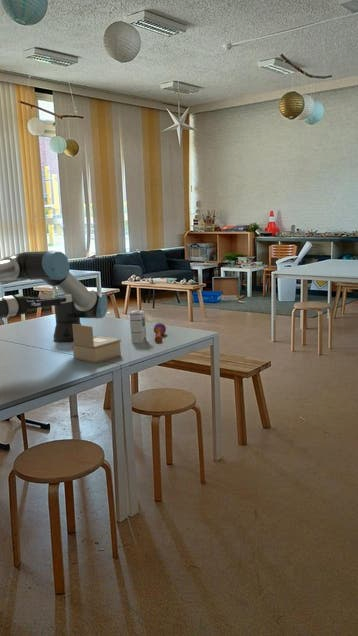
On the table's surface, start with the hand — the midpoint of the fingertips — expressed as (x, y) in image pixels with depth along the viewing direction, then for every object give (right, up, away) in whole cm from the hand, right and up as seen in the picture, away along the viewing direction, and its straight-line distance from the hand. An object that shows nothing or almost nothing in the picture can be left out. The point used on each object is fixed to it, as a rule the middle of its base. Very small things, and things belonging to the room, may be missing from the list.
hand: (61, 297), depth 225 cm
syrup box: (+27, -20, +42) cm, 54 cm away
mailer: (+12, -25, +17) cm, 32 cm away
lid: (+11, -19, +16) cm, 27 cm away
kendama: (+37, -18, +48) cm, 64 cm away
